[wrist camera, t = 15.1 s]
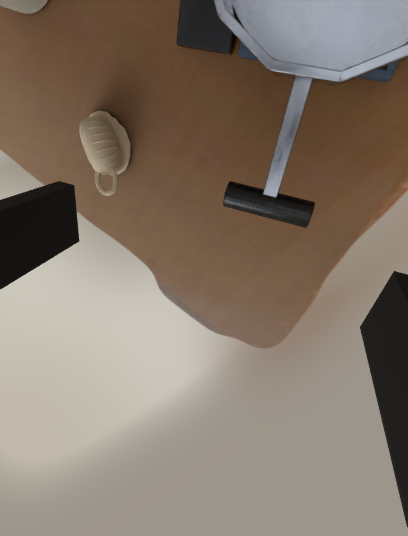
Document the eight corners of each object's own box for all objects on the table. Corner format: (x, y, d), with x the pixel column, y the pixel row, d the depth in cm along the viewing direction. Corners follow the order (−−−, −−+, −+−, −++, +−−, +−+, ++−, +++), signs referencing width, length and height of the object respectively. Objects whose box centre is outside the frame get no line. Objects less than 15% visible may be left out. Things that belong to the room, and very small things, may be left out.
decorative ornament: (120, 105, 31) (88, 105, 27) (141, 183, 35) (117, 195, 30) (90, 113, 32) (55, 114, 28) (113, 187, 36) (86, 199, 32)
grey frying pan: (233, -337, 12) (212, -460, 9) (659, -370, 9) (795, -553, 7) (176, 185, 24) (159, 195, 21) (361, 233, 21) (368, 251, 18)
